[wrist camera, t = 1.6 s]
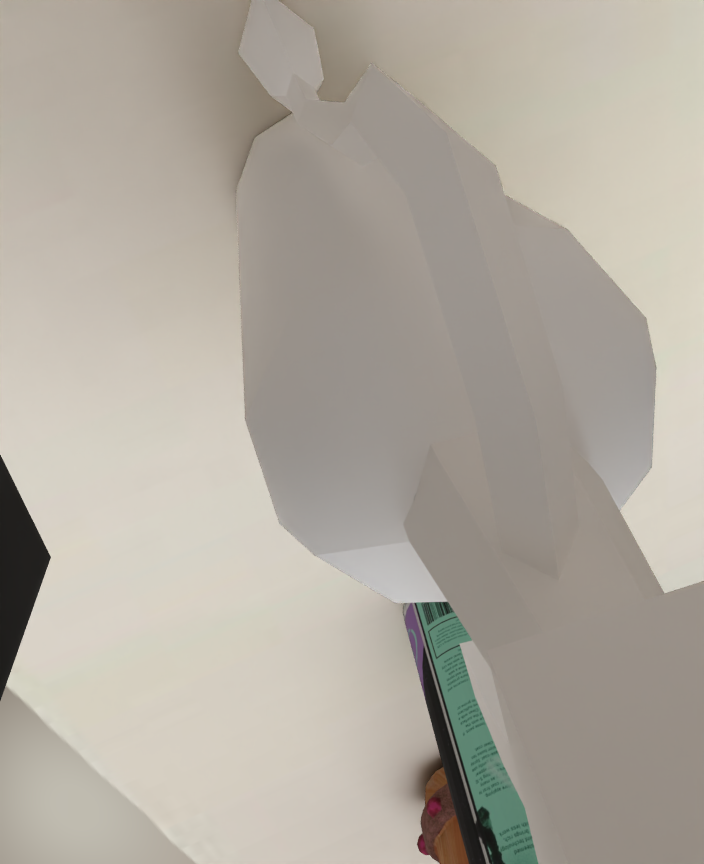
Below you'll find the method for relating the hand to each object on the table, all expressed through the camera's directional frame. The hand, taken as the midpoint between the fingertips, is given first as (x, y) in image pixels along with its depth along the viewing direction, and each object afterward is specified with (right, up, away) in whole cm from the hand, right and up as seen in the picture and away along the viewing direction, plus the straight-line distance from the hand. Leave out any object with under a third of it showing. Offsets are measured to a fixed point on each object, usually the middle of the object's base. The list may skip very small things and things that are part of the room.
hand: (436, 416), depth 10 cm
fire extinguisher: (-3, +10, +15) cm, 18 cm away
